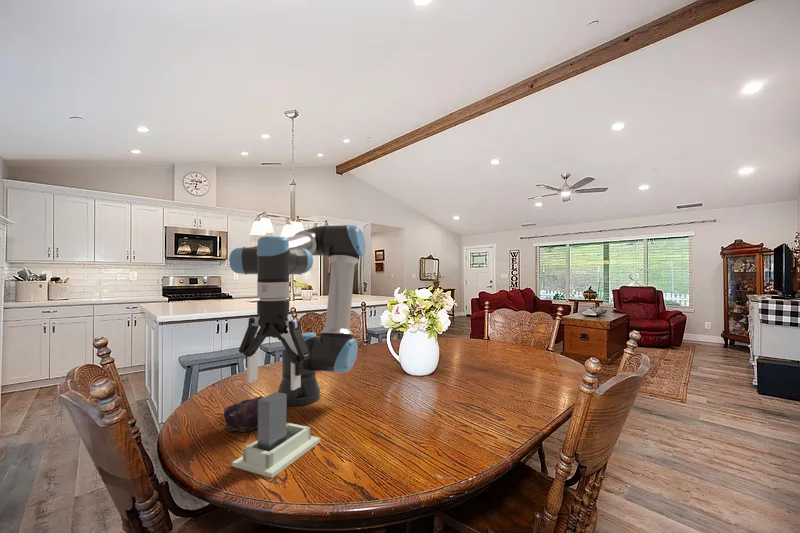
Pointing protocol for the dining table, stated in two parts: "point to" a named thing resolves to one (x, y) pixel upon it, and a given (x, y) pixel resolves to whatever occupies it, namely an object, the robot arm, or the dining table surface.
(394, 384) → the dining table surface
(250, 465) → the rectangular frame
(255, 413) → the rock
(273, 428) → the grey l-shaped block
